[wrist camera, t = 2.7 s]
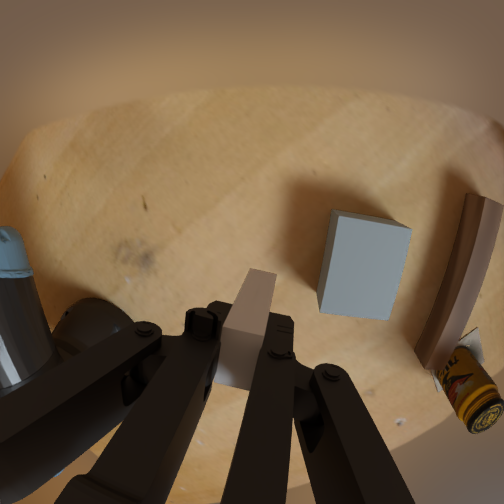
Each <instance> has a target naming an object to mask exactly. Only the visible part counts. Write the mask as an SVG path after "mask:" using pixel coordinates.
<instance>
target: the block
mask: <svg viewBox="0 0 504 504" xmlns="http://www.w3.org/2000/svg"><path fill="white" fill-rule="evenodd" d="M411 233H412V229H411V228H409V227H407V226H405V225H403V224H401V223H399V222H397V221H395V220H390V219H384V218H379V217H374V216H368V215H363V214H357V213H352V212H346V211H340V210H334V209H331V216H330V222H329V228H328V234H327V240H326V245H325V251H324V256H323V262H322V267H321V272H320V277H319V282H318V287H317V292H316V293H317V299H318V305H319V311H320V313H327V314H335V315H343V316H352V317H360V318H369V319H379V320H389V317H390V314H391V311H392V307H393V304H394V301H395V297H396V294H397V290H398V287H399V283H400V280H401V276H402V272H403V268H404V264H405V260H406V256H407V252H408V247H409V243H410V238H411Z"/></svg>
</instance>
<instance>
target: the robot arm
mask: <svg viewBox="0 0 504 504" xmlns="http://www.w3.org/2000/svg"><path fill="white" fill-rule="evenodd" d="M33 274H34V273H33V269H32V267H31V266H30V264H29V261H28V257H27V253H26V250H25V246H24V242H23V239H22V236H21V234H20V233H19V232H18V231H17V230H16V229H15V228H13V227H10V226H2V227H0V504H12V503H14V502H17V501H19V500H21V499H23V498H25V497H26V496H28V495H30V494H31V493H33V492H34V491H35V490H37V489H38V488H39V487H41V486H42V485H43V484H44V483H46V482H47V481H49V480H50V479H51V478H53V477H56V476H58V475H59V474H60V473H61V472H62V471H63V470H64V469H65V467H67V466H68V465H69V464H70V463H72V462H73V461H74V460H75V459H77V458H78V457H79V456H80V455H82V454H83V453H84V452H85V451H87V450H88V449H89V448H90V447H92V446H93V445H94V444H95V443H96V442H98V441H99V440H100V439H101V438H103V437H104V436H105V435H106V434H107V433H109V432H110V431H111V430H112V429H113V428H115V427H116V426H117V425H118V424H119V423H120V422H122V421H123V420H124V421H123V422H122V424H121V425H120V427H119V428H118V430H117V431H116V433H115V434H114V435H113V437H112V438H111V440H110V442H109V443H108V445H107V446H106V448H105V449H104V451H103V452H102V454H101V455H100V457H99V458H98V460H97V461H96V463H95V464H94V466H93V467H92V469H91V470H90V471H89V472H88V473H87V474H83V475H76V476H75V477H73V478H72V479H71V480H70V481H69V482H68V484H67V485H66V486H65V488H64V489H63V491H62V492H61V494H60V495H59V497H58V498H57V500H56V501H55V502H54V504H165V502H166V500H167V498H168V495H169V493H170V490H171V488H172V485H173V483H174V481H175V478H176V476H177V473H178V471H179V469H180V466H181V464H182V461H183V459H184V456H185V454H186V451H187V449H188V447H189V444H190V442H191V439H192V437H193V434H194V432H195V429H196V427H197V424H198V422H199V419H200V417H201V414H202V412H203V410H204V407H205V405H206V402H207V400H208V397H209V395H210V392H211V388H212V381H213V379H214V376H215V379H214V382H216V383H220V384H223V385H227V386H232V387H236V388H240V389H244V390H249V391H250V392H249V396H248V400H247V403H246V407H245V411H244V416H243V420H242V424H241V428H240V432H239V436H238V439H237V443H236V447H235V451H234V455H233V459H232V462H231V466H230V470H229V473H228V477H227V481H226V485H225V488H224V492H223V495H222V499H221V502H220V504H285V502H286V493H287V483H288V473H289V461H290V449H291V436H292V421H293V418H294V424H295V428H296V431H297V435H298V439H299V443H300V446H301V450H302V454H303V457H304V461H305V465H306V468H307V472H308V476H309V479H310V483H311V487H312V491H313V494H314V497H315V501H316V504H415V502H414V500H413V498H412V496H411V494H410V492H409V490H408V488H407V486H406V484H405V482H404V480H403V478H402V476H401V474H400V472H399V470H398V468H397V466H396V464H395V462H394V460H393V458H392V456H391V454H390V452H389V450H388V448H387V446H386V444H385V442H384V440H383V439H382V437H381V435H380V433H379V431H378V429H377V427H376V425H375V423H374V421H373V419H372V418H371V416H370V414H369V412H368V410H367V408H366V406H365V404H364V403H363V401H362V399H361V397H360V395H359V393H358V391H357V390H356V388H355V386H354V384H353V382H352V380H351V378H350V377H349V375H348V373H347V372H346V371H345V370H344V369H342V368H341V367H339V366H337V365H334V364H328V363H325V364H320V365H318V366H316V367H315V369H311V368H308V367H306V366H304V365H302V364H301V363H299V362H298V361H297V360H296V356H295V353H294V352H293V338H294V335H293V334H294V322H293V320H292V319H291V317H290V316H286V315H282V314H277V313H272V312H269V311H270V306H271V301H272V296H273V291H274V286H275V281H276V276H277V274H274V273H270V272H265V271H260V270H256V269H251V268H250V270H249V272H248V274H247V276H246V278H245V281H244V283H243V285H242V287H241V289H240V291H239V293H238V295H237V297H236V299H235V301H234V303H233V304H229V303H225V302H221V301H217V300H216V301H214V302H212V303H210V304H209V305H208V306H207V308H193V309H189V310H188V311H187V312H186V317H185V329H184V332H183V334H182V335H180V336H169V335H162V330H161V328H160V327H159V326H158V325H156V324H154V323H151V322H146V321H140V322H135V323H134V322H133V321H132V320H131V319H130V318H129V317H128V316H127V315H126V314H125V313H124V312H122V311H121V310H120V309H118V308H117V307H116V306H114V305H112V304H110V303H108V302H106V301H104V300H101V299H97V298H85V299H82V300H79V301H78V302H76V303H75V304H73V305H72V306H70V307H69V308H68V309H67V310H66V311H65V312H64V314H63V315H62V317H61V320H60V321H59V322H58V324H57V325H56V327H55V329H54V330H53V332H52V334H51V331H50V328H49V326H48V323H47V320H46V317H45V314H44V311H43V308H42V305H41V302H40V299H39V295H38V292H37V289H36V285H35V282H34V278H33Z"/></svg>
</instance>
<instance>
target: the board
mask: <svg viewBox="0 0 504 504" xmlns="http://www.w3.org/2000/svg"><path fill="white" fill-rule="evenodd" d="M503 207H504V205H502V204H500V203H498V202H496V201H493V200H491V199H489V198H487V197H483V196H478V195H473V194H467V193H466V198H465V203H464V208H463V212H462V217H461V221H460V225H459V229H458V233H457V237H456V240H455V244H454V247H453V251H452V254H451V258H450V261H449V264H448V267H447V270H446V273H445V276H444V279H443V282H442V285H441V288H440V291H439V293H438V296H437V299H436V301H435V304H434V306H433V309H432V312H431V314H430V316H429V319H428V321H427V324H426V326H425V328H424V331H423V333H422V335H421V337H420V340H419V342H418V344H417V346H416V348H415V350H414V352H415V353H416V355H417V357H418V358H419V360H420V362H421V364H422V366H423V367H424V369H430V370H444V368H445V366H446V365H447V363H448V361H449V359H450V357H451V355H452V353H453V351H454V349H455V347H456V345H457V343H458V341H459V339H460V337H461V335H462V332H463V330H464V328H465V326H466V324H467V321H468V319H469V317H470V314H471V312H472V309H473V307H474V305H475V302H476V299H477V297H478V294H479V292H480V289H481V286H482V283H483V280H484V277H485V274H486V271H487V268H488V265H489V262H490V259H491V255H492V252H493V248H494V245H495V241H496V237H497V233H498V229H499V225H500V221H501V216H502V212H503Z"/></svg>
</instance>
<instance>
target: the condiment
mask: <svg viewBox="0 0 504 504" xmlns="http://www.w3.org/2000/svg"><path fill="white" fill-rule="evenodd" d="M466 345H470V346H469V347H468V346H467V347H466ZM482 363H484V358H483V352H482V347H481V342H480V336H479V330H478V328H476V329H475V330H474V331H473V332H471V333H470V334H468V335H467V336H466V337H464V338H463V339H461V340H460V341H458V343H457V345H456V347H455V349H454V351H453V353H452V355H451V357H450V359H449V361H448V363H447V365H446V366H445V368H444V370H431V372H432V375H433V378H434V381H435V384H436V387H437V390H438V392H440V391H441V390H444V392H445V394H446V396H447V397H448V399H449V401H450V403H451V405H452V407H453V408H454V410H455V412H456V415H457V417H458V418H459V419H460V420H461V421H463V422H464V424H465V425H466V426H467V429H468V431H469V432H470V433H472V434H477V433H481V432H483V431H485V430H487V429H489V428H490V427H491V426H492V425H494V424H495V423H496V422H497V420H498V419H499V418H500V416H501V415H502V413H503V411H504V401H503V399H501V396H500V394H499V393H498V388H497V386H496V384H495V383H494V382H493V380H492V379H491V377H490V376H489V375H488V373H487V372H486V371H485V370H484V368H483V367H482V366H481V364H482Z"/></svg>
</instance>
